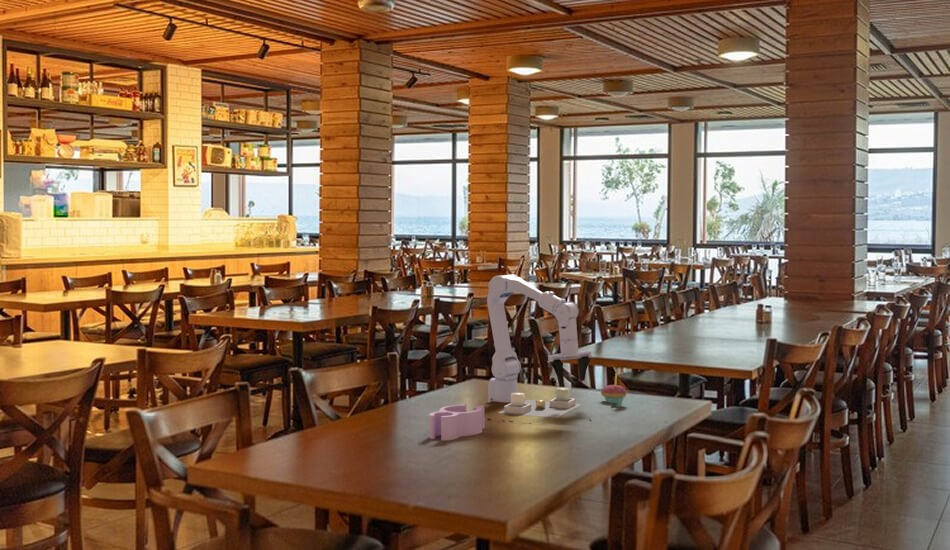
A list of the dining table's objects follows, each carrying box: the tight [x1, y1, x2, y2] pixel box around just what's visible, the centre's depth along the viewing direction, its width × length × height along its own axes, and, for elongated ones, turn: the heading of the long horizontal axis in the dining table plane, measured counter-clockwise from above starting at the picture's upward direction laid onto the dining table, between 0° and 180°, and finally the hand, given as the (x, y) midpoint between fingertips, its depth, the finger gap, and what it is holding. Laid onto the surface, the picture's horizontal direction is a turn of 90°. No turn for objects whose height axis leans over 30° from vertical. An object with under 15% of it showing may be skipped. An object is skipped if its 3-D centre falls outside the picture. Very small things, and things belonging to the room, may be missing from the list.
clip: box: [428, 403, 485, 441], centre depth 293 cm, size 20×12×7 cm, turn 147°
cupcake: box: [600, 370, 627, 408], centre depth 332 cm, size 9×8×12 cm
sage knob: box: [555, 387, 570, 401], centre depth 325 cm, size 4×4×4 cm
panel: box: [497, 397, 582, 419], centre depth 321 cm, size 20×24×4 cm
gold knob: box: [535, 399, 546, 409], centre depth 321 cm, size 3×3×2 cm
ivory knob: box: [510, 392, 526, 406], centre depth 317 cm, size 4×4×4 cm
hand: (571, 381), depth 322 cm, fingers open, 7 cm apart
